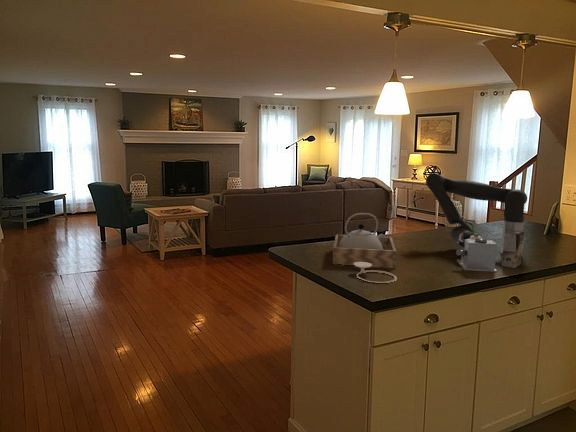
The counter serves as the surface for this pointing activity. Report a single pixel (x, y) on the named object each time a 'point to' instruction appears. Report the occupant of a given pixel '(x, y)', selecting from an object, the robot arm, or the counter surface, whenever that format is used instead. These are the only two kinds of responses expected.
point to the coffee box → (512, 248)
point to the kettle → (361, 237)
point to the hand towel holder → (367, 265)
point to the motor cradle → (478, 255)
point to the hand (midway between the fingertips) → (476, 247)
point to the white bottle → (475, 236)
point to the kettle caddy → (366, 254)
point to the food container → (470, 224)
